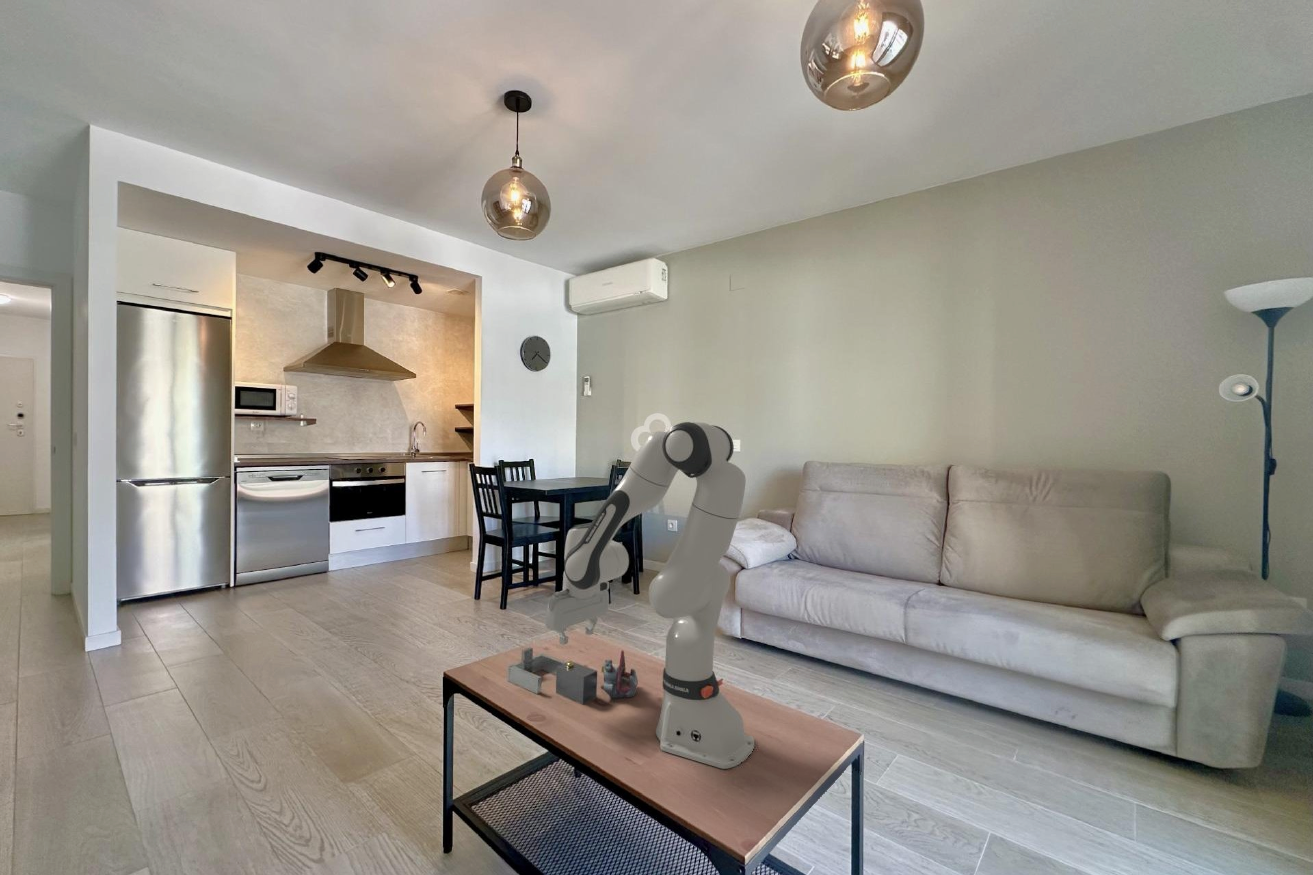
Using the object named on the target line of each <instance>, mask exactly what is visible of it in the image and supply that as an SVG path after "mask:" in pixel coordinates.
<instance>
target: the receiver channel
mask: <svg viewBox="0 0 1313 875" xmlns="http://www.w3.org/2000/svg"><path fill="white" fill-rule="evenodd" d="M533 649H534V648H533V647H530V646H529V647H527V648H524V649H522V650H521V660H520V661H517V662H514V663H512V664H509V665H507V675H506V678H507V679H506V680H507V681H508V682H510V683H512V684H514V685H516V686H519V687H521V688H523V689H524V690H525V689H526V690H528V691H530V692H532V693H534V694H536V695H539V694H540V693H542V676H540V675H537V674H534V673H535V672H538V671H540V670H543V671H545V672H547V673H550V674H552V675H555V676H556V675H557V666H559V665H562V664H564V663H567V662H568V661H567V662H566V661H564V660H561V659H558V658H556V657H553V656H550V655H549V654H545V653H543V652H542V653H539V654H536V655H533V652H534V650H533Z"/></svg>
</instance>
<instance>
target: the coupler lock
mask: <svg viewBox="0 0 1313 875" xmlns="http://www.w3.org/2000/svg"><path fill="white" fill-rule="evenodd" d="M555 678H556V679H555V680H556V681H555V683H556V684H555V694H558V695H560V696H562V697H564V698H567V699H569V700H571V701H574V702H575V703H578V704H581V705H585V704H587V703H589V702H591V701H593V700H594V699H597V690H598V689H597V687H598V670H596V669H593V668H590V667H587V666H585V665H583V664H580V663H577V662H574V661H572V660H569V661H567V663H564V664H562V665H559V666H557V675H555Z"/></svg>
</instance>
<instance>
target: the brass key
mask: <svg viewBox="0 0 1313 875" xmlns="http://www.w3.org/2000/svg"><path fill="white" fill-rule="evenodd" d="M604 669H605V668H604V664H603V665H601V673H604ZM625 673H627V668H626V666H625Z"/></svg>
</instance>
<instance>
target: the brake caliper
mask: <svg viewBox="0 0 1313 875" xmlns="http://www.w3.org/2000/svg"><path fill="white" fill-rule="evenodd" d="M625 658H626V657H625V652H624V650H623V649H622V650H621V652H620V659H619V663H614V664H613V660H612V659H605V660H604V662H605V663H604V664H603V665H604V668H605V669H604V672H603V683H604V684H602V685H600V686H599V687H600V689H602V690H603V692H604V691H605V693H606V694H607V695H608V696H609V697H610V698H613V699H620V698H632V697H634V695H636V692H637V687H638V684H639V680H638V675H637V673H636V670H635V668H631V669H630V672H629V673H627V672H626V673H625V667H626V660H625Z"/></svg>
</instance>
